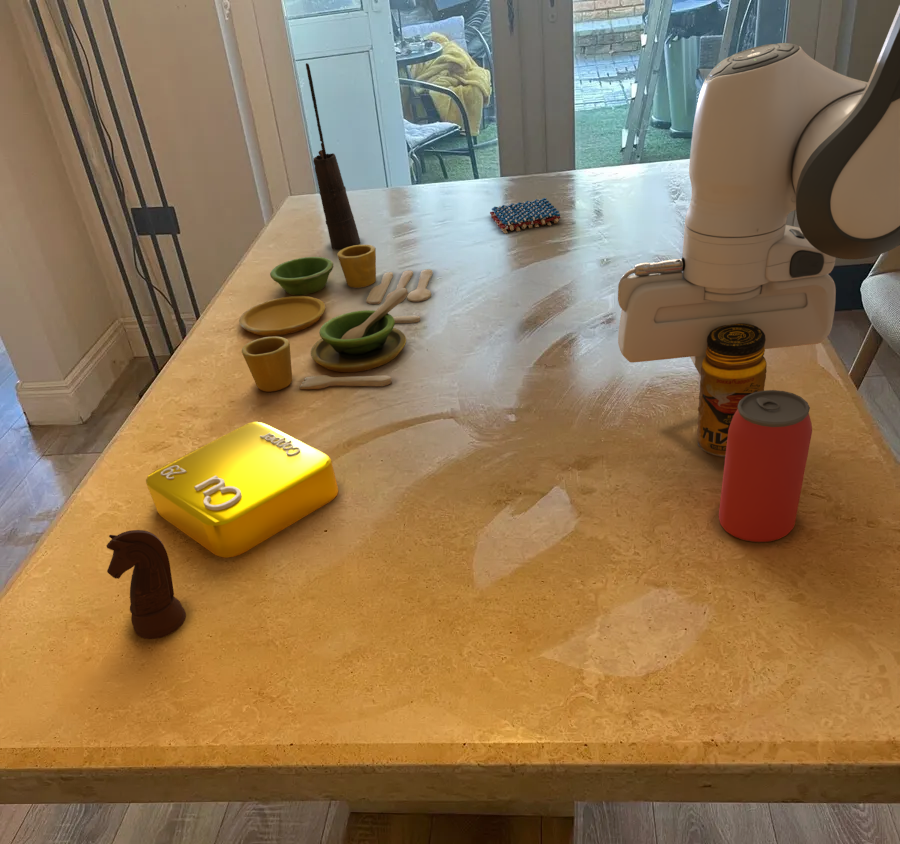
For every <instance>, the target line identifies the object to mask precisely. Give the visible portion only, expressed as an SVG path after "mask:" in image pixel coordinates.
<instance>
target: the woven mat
mask: <svg viewBox="0 0 900 844" xmlns="http://www.w3.org/2000/svg"><path fill="white" fill-rule="evenodd" d="M489 214H490V218H491V219H493V221H494V222H495V223H496V224H497V227H498V228H500V230H501V231H502V232H503V233H504V234H508V230H509V231H511V232H512V231H516V232H521V229H522V230H526V229H527V227H528V228H529V229H532V228H533V226H534V228H539V227H540V225H541V226H545V225H547V226H553V225H552V223H553V224H558V223H559V220H560V219H561V214H560V210H557V207H555V205H552V203H551V202H550V201H549V200H548V199H547V197H543V198H539V199H537V198H536V199H534V200H532V201H530V200H526V201H523V202H520V201H519V202H518V203H517V202H515V203H513V202H512V203H510V204H508V205H505V204H502V205H499V206H493V207H492V208H491V211H489ZM551 222H552V223H551Z"/></svg>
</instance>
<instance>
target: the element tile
mask: <svg viewBox="0 0 900 844" xmlns="http://www.w3.org/2000/svg"><path fill="white" fill-rule="evenodd" d="M332 462H333V461H332V459H331V457H330V456H329V455H328V454H327V453H325V452H323V451H321V450H319V449H318V448H315V447H313V446H311V445H309V444H307V443H305V442H303V441H301V440H300V439H297V438H295V437H294V436H291V435H289V434H288V433H285V432H283V431H282V430H279V429H278V428H275V427H274V426H271V425H269V424H267V423H264V422H258V421H252V422H248V423H246V424H244V425H241V426H240V427H238V428H236V429H234V430H232V431H230V432H228V433H226V434H224V435H222V436H220V437H218V438H216V439H214V440H212V441H210V442H208V443H206V444H204V445H202V446H201V447H198V448H196V449H194V450H192V451H191V452H188V453H186V454H185V455H183V456H180V457H179V458H177V459H174V460H172V461H170V462H169V463H167V464H164V465H163V466H160V467H159V468H157V469H155V470H154V471H151V473H149V474H148V475H147V477H146V479H145V484H146V487H147V489H148V491H149V495H150V497H151V499H152V502H153V504H154V506H155V509H156V511H157V514H158V515H159V516H160V517H161V518H163V519H164V521H165V520H166V521H167V522H168V523H169V524H171V526H172V525H173V526H174V527H175V528H177V530H179V531H181V532H182V533H184V534H185V535H187V536H188V537H189V538H191V539H192V540H193V541H195V542H196V543H197V544H199V545H201V546H202V547H203V548H204V549H206V550H208V551H209V552H210V553H212V554H213V555H215V556H217V557H219V558H224V559H226V558H235V557H237V556H240V555H242V554H244V553H246V552H248V551H249V550H251V549H253V548H255V547H257V546H258V545H260V544H262V543H264V541H266V540H268V539H270V538H271V537H273V536H275V535H276V534H278V533H280V532H282V531H283V530H285V529H287V528H288V527H290V526H291V525H294V524H296V523H297V522H298V521H300V520H302V519H304V518H305V517H307V516H308V515H311V513H314V512H315V511H317V510H319V509H320V508H322V507H324V506H326V505H327V504H329V503H331V502H332V501H333V500H334V499H335V498H336V497H337V496H338V494H339V487H338V482H337V479H336V474H335V469H334V466H333V463H332Z"/></svg>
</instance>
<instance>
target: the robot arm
mask: <svg viewBox="0 0 900 844" xmlns="http://www.w3.org/2000/svg"><path fill="white" fill-rule="evenodd" d="M696 103H697V104H696V108H695V112H694V113H695V114H694V119H693V126H692V133H691V142H690V143H691V144H690V152H689V162H688V163H689V164H688V173H689V174H688V176H689V181H690V186H691V194H690V195H691V196H690V201H689V206H688V208H687V211H686V214H685V218H684V228H683V229H684V230H683V244H682V256H681V257H682V258H675V259H666V260H661V261H658V262H640V263H637V264H635V265H634V267H633V268H631V269H629V270H627V271H626V272H625V273H624V274H623V275H622V276H621V277H620V279H619V282H618V285H617V302H618V305H619V308H620V309H621V311H620V312H621V313H620V317H619V323H618V324H619V325H618V334H617V344H618V349H619V351H620V354H621V355H622V356H623V358H625V359H626V361H627V362H628V363H631V364H633V363H643V362H654V361H662V360H673V359H684V358H690V359H691V361H692V363H693V365H694V367H695V369H696V371H697V372H698V382H697V387H698V390H699V391H700V380H701V366H702V362H703V360H704V358H705V357H706V348H707V337H708V335H709V334H710V332H711V331H712V330H714V329H716V328H718V327H720V326H724V325H731V324H738V323H742V324H743V323H744V324H750V325H754V326H756V327H758V328H760V329H761V330H762V331H763V332H764V334H765V339H766V341H765V345H764V348H765V350H771V349H781V348H792V347H801V346H810V345H811V346H812V345H820V344H821V343H822V342H824V341H825V339H826V338H827V337H828V336H829V335H830V334H831V332H832V328H833V324H834V318H835V310H836V293H837V290H836V289H837V287H836V283H835V280H834V279H833V277H832V276H831V275H830V274H831V273H832V271H833V270H834V268H835V264H836V260H837V259H841V260H863V259H869V258H873V257H876V256H880V255H882V254H885V253H887V252H890V251H892V250H894V249H895V248H897V247H899V246H900V5H898V9H897V11H896V13H895V16H894V18H893V20H892V23H891V25H890V28H889V30H888V33H887V35H886V37H885V40H884V43H883V45H882V47H881V50H880V52H879V55H878V57H877V60H876V62H875V64H874V67H873V69H872V72H871V74H870V77H869V79H868V81H863V80H860V79H856V78H853V77H850V76H847V75H844V74H842V73H839V72H837V71H835V70H833V69H831V68H829V67H827V66H826V65H824V64H821V62H819V61H817V60H815V59H814V58H812V57H811V56H810V55H808V54H807V53H806V52H805V51H804V50H803V48H802V47H801V46H800V45H798V44H795V43H791V42H778V43H768V44H762V45H759V46H755V47H751V48H747V49H744V50H741V51H739V52H735V53H734V54H732V55H731V56H728V57H726V58H723V60H721V61H720V62H718V63H717V64H716V65H715V66H714V67H713V68H712V69H711V71H710V72H709V73H708V74H707V76H706V77H705V79H704V81H703V83H702V85H701V88H700V92H699V95H698V99H697V102H696ZM794 211H795V213H796V219H797V224H798V226H793V225H789V224H788V225H787V223H788V221H787V220H788V216H789V214H791V213H792V212H794Z"/></svg>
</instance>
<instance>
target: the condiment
mask: <svg viewBox="0 0 900 844" xmlns="http://www.w3.org/2000/svg"><path fill="white" fill-rule="evenodd" d="M765 341H766V339H765V334H764V332H763V331H762V330H761V329H760V328H758V327H756V326H754V325H750V324H744V323H743V324H742V323H738V324H731V325H724V326H720V327H718V328H716V329H714V330H712V331H711V332H710V334H709V335H708V337H707V348H706V357H705V358H704V360H703V362H702V366H701V380H700V390H699V393H698V394H699V395H698V407H697V411H698V415H697V428H696V429H697V431H696V432H697V445H698V447H699V448H700V449H701V451H703V452H704V453H706V454H708V455H709V454H710V455H711V456H716V457H720V458H721V457H722V458H725V456H726V447H727V438H728V430H729V426H730V424H731V421H732V418H733V416H734V414H735V412H736V411H737V409H738V408H737V407H738V404H739V401H740V400H741V399H742V398H744V397H745V396H747V395H749V394H751V393H754V392H759V391H765V384H766V380H767V367H768V366H767V365H768V363H767V360H766V358H765V352H766V349H765V348H764V345H765Z"/></svg>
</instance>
